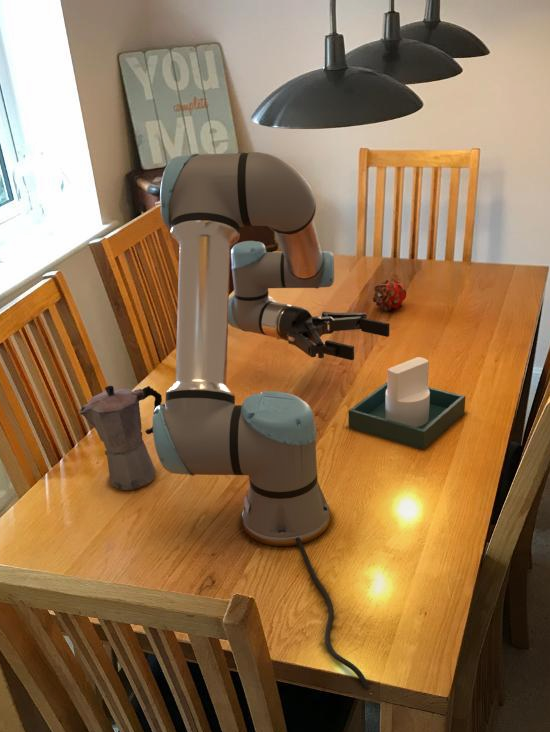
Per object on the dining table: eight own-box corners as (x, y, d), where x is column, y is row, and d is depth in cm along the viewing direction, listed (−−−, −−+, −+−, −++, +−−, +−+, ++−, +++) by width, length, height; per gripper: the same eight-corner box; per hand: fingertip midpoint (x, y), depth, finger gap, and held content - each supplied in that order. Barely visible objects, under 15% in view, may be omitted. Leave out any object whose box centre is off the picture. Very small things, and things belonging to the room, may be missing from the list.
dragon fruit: (380, 322, 223) (392, 312, 233) (406, 305, 219) (417, 295, 229) (363, 294, 222) (375, 285, 232) (389, 277, 217) (400, 269, 227)
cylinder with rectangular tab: (405, 432, 170) (407, 379, 163) (376, 417, 176) (376, 364, 169) (437, 418, 174) (440, 365, 167) (408, 403, 180) (409, 351, 173)
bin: (464, 413, 176) (465, 395, 174) (423, 450, 165) (424, 431, 163) (392, 394, 185) (392, 377, 183) (348, 427, 174) (348, 410, 172)
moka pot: (89, 478, 164) (68, 385, 152) (163, 456, 169) (148, 364, 158) (103, 501, 156) (82, 405, 145) (180, 477, 162) (165, 383, 150)
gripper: (321, 320, 192) (401, 337, 181) (253, 359, 176) (337, 381, 165) (319, 288, 187) (402, 304, 176) (250, 325, 171) (336, 345, 160)
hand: (371, 341), depth 170 cm, fingers open, 13 cm apart
